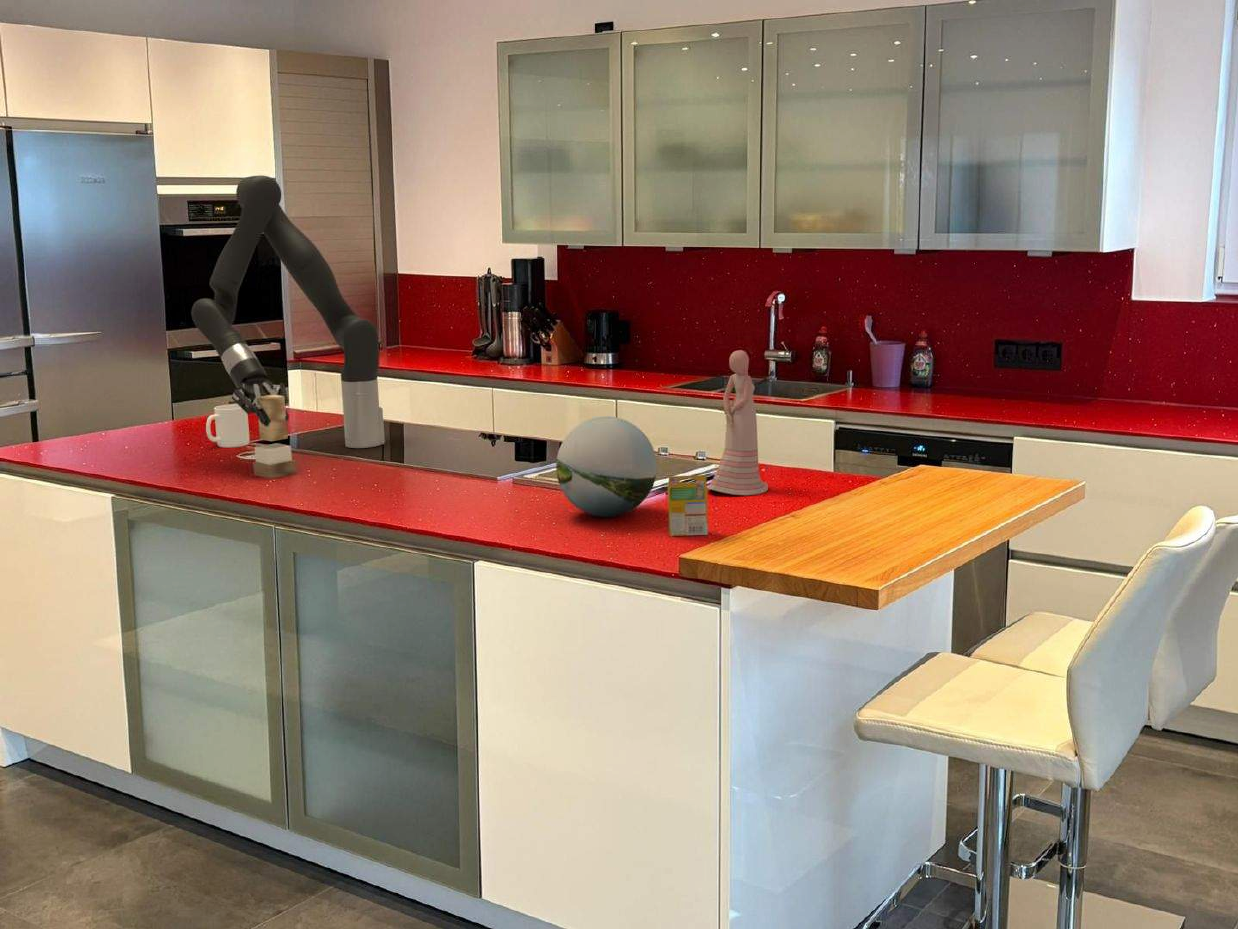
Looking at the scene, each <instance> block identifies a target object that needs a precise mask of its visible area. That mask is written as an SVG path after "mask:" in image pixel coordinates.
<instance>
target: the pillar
mask: <svg viewBox="0 0 1238 929" xmlns="http://www.w3.org/2000/svg"><path fill="white" fill-rule="evenodd" d="M258 398H259V402H260V403H261V405H262V409H264V411H265V412H266V414H267V416H268V417H269V419H270V420H271V422H270V423H269V425H268V426H264V425H263V424H262V423H261V422H260V420H259V418H258V417H257V418H258V428H259V432H258V433H259V439H260V440H262V441H265V442H266V441H267V442H268V441H269V442H275V441H281V440H285V439H288V427H287V423H286V417H285V416H286V411H287V410H286V411H285V409H286V407H285V398H284V396H279V395H267V396H261V397H258Z"/></svg>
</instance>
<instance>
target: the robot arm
mask: <svg viewBox="0 0 1238 929" xmlns="http://www.w3.org/2000/svg"><path fill="white" fill-rule="evenodd" d="M235 195H236V196H235V197H236V200H237V202H238V205H239V206H240V208H241V209H242V210H241V212H240V216H239V220H238V221H237V224H236V226H235V228H234V231H233V232H232V234H231V236H230V238H229V239H228V241H227V242H226V244H225V245H224V247H223V249H222V251H221V253H220V255H219V257H218V259H217V261H216V264H215V267H214V269H213V272H212V275H211V276H210V279H209V280H210V281H209V287H210V288H211V289H212V290H213V292H214V298H213V299H211V298H205V297H204V298H200V299H198V300H196V301H195V302H194V303H193V305H192V308H191V318H192V321H193V323H194V325H195V327H196V328H197V329H198V331H199V332H200V333H201V334H202V335H203V336H204V337H205V338H206V340H208V342H210V344H211V345H212V346H213V348H214V349H215V350H214V351H216V353H217V354H218V356H219V358H220V359H221V361H222V363H223V366H224V368H225V371H226V372H227V373H228V375H229V376H230V379H231V380H232V381H233V383H234V385H235V387H236V388H237V389H235V390H234V392H233V394H232V396H231V399H232V400H233V401H234V402H235V403H236V404H238V405H239V406H240V407H241V408H242V409H243V410H244V411H245V412H246V413H247V415H250V414H254V416H255V415H256V417H257V418H259V419H258V421H259V420H260V422H261V423H262V424H263V425H264V426H268V425H269V423H270V422H271V420H270V419H269V417H268V416H267V414H266V412H265V411H264V409H262V405H261V403H260V402H259V398H258V397H261V396H267V395H279V396H284V398H285V411H286V416H285V417H286V424H287V422H288V421H289V419H290V415H289V413H288V411H287V409H286V406H287V405H288V403H289V401H290V400H289V397H288V394H287V393H288V392H287V390H286V385H285V384H284V382H280V383H279V384H273V382H272V381H270V380H269V379H268V376H267V375H268V374H267V371H265V369H264V367H263V365H262V364H261V363H260V361H259V359H258V358H257V356H256V354H255V353H254V351H253V350H252V349H251V348H250V346H249V345H248V343H247V342H246V340H245V339H244V337H243V335H242V334H241V333H240V332H239V330H238V329H237V328H235V327H233V326H232V325H233V322H235V317H236V311H237V305H238V294H239V290H240V288H241V286H242V282H243V280H244V277H245V275H246V272H247V270H248V267H249V264H250V261H251V260H252V257H253V255H254V253H255V250H256V247H257V245H258V243H259V241H260V239H261V237H262V234H263V235H264V236H265V238H266V240H268V242H269V244H270V245H271V247H272V249H273V250H274V252H275V254H276V255H277V257H278V258H279V260H280V261H281V263H282V264H283V266H284V268H285V269H286V270H287V272H288V274H290V276H291V278H292V279H293V280H294V282H295V283H296V285H297V286H298V287H299V288H300V290H301V292H303V294H304V295H305V297H306V298H307V299H308V300H309V302H310V303H311V305H313V306H314V307H315V309H316V310H317V311H318V313H319V314H320V316H321V317H322V319H323V321H324V323H325V325H326V327H327V328H328V329H329V332H330V333H331V335H332V337H333V340H334V341H335V342H336V344H337V346H339V347H340V349H342V350H343V361H344V362H343V363H344V364H343V368H341V369H340V381H341V397H342V412H343V425H344V428H343V429H344V441H345V443H344V444H345V447H346V448H352V449H365V448H374V447H377V446H378V447H379V446H381V445H385V442H386V440H385V428H384V424H385V423H384V410H383V408H382V407H380V399H379V398H380V396H379V384H378V383H379V382H378V371H379V368H380V348H379V347H380V346H379V345H380V344H379V343H380V342H379V334H378V330H377V328H376V325H375V324H374V323H373V322H372V321H370V320H369V319H367V318H363V317H359V316H358V314H356V313H355V312H354V310H353V309H352V308H351V306H350V305H349V304H348V303H347V300H345V299H344V297H343V295H342V293H341V291H340V289H339V285H338V283H337V281H336V277H335V274H334V272H333V270H332V268H331V267H330V265H329V263H328V261H327V260H326V258H324V256H323V255H322V253H321V251H320V250H319V248H318V247H317V246H316V245H315V244H314V243H313V241H312V240H311V239H310V238H309V237H308V236H306V235H305V234H304V233H303V231H302V230H300V229H299V228H298V227H297V226H296V225H295V224H294V223H293V222H292V221H291V219H290V218H288V216H287V214H286V213H285V210H283V208H282V206H281V204H280V203H281V201H282V190H281V187H280V185H279V183H278V182H277V181H276V180H275V179H274V178H273V177H270V176H267V175H250V176H247V177H244V178H243V179H241V180H240V181H239V183H237V186H236V192H235Z"/></svg>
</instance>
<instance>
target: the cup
mask: <svg viewBox="0 0 1238 929" xmlns="http://www.w3.org/2000/svg"><path fill="white" fill-rule="evenodd" d="M213 411H214V412H213V413H214V414H211V415H209V416H208V417H207V420H206V424H205V431H206V436H207V438H208V439H209V441H211V442H214V443H217V446H218V447H220V448H230V449H231V448H240V447H246V446H248V445H249V444H250V442H251V441H250V431H249V419H248V418H249V417H248V415H249V414H247V413H246V412H245V411H244V410H243V409H242V408H241V407H240V406H239V405H238V404H237V403H236V404H235V403H233V404H224V405H217V406H215V407H214V408H213ZM213 420H214V424H215V433H216V435H215V436H213V435H212V432H211V424H212V421H213Z"/></svg>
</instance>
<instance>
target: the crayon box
mask: <svg viewBox="0 0 1238 929" xmlns="http://www.w3.org/2000/svg"><path fill="white" fill-rule="evenodd" d="M707 478H708V477H707V474H699V475H698V474H695V475H674V476H672V475H669V476H668V483H667V511H668V512H667V515H668V535H669V537H672V538H673V537H680V536H682V537H683V536H684V537H685V536H708V535H709V525H708V523H709V521H708V519H709V518H708V517H709V516H708V510H709V509H708V489H707V488H708V485H707ZM686 479H689V480H695V481H691V482H685V481H684V482H683V481H682V482H681V480H686Z"/></svg>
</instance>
